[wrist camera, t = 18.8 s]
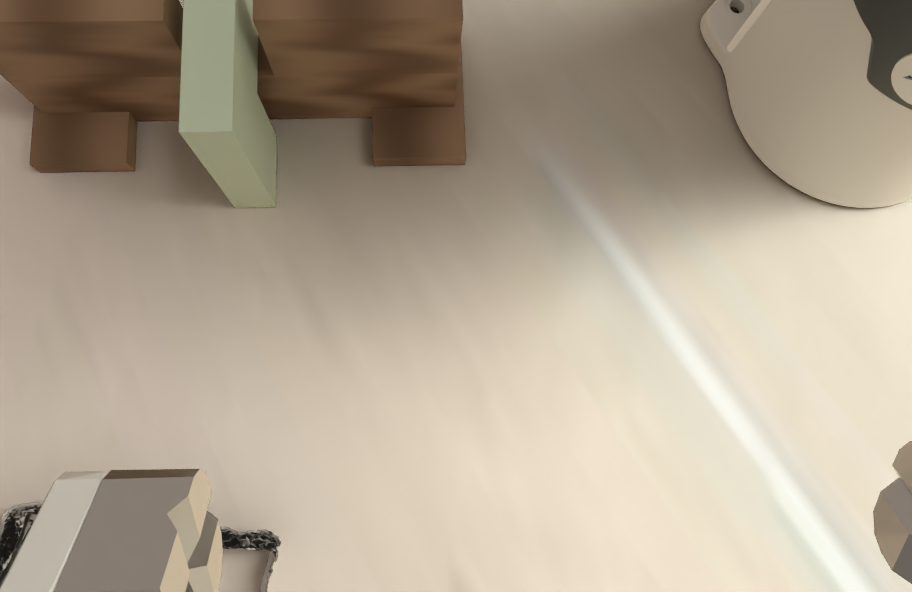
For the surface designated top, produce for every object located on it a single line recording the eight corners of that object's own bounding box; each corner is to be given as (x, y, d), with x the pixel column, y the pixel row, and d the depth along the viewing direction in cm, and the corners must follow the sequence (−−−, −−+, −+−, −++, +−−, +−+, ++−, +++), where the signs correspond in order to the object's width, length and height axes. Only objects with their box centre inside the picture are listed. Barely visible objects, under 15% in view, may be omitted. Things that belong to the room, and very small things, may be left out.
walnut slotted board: (459, 33, 45) (469, -85, 35) (464, 164, 43) (477, 78, 33) (50, 37, 44) (-57, -84, 34) (40, 172, 42) (-75, 86, 32)
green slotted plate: (275, 206, 42) (231, 131, 32) (235, 207, 42) (178, 132, 32) (277, 7, 45) (237, -119, 35) (239, 7, 45) (188, -119, 35)
